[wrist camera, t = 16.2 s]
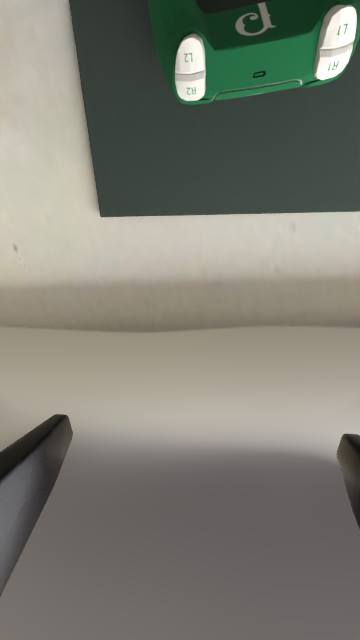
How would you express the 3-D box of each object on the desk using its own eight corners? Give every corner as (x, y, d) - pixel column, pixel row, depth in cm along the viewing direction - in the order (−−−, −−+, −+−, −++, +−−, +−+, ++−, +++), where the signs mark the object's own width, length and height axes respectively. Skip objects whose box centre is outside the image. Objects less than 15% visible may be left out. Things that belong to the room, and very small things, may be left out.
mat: (544, -306, 9) (558, -327, 8) (392, 210, 16) (396, 210, 15) (43, -199, 11) (37, -212, 10) (102, 216, 18) (100, 217, 17)
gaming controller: (161, 53, 15) (158, 128, 13) (143, -59, 11) (134, 20, 9) (337, 20, 14) (363, 98, 12) (378, -120, 10) (426, -41, 8)
